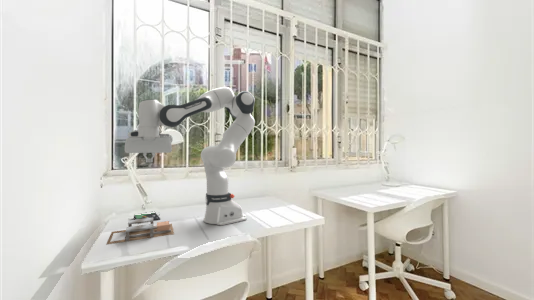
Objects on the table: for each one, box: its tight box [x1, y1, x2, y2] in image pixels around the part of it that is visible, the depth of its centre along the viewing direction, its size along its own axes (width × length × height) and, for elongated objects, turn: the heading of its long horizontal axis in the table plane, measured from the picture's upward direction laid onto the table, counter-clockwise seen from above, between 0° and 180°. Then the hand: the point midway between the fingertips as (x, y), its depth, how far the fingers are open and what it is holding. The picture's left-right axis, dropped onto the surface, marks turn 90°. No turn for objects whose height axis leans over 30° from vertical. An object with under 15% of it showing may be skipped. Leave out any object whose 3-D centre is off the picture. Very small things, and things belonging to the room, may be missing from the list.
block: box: [156, 220, 171, 231], centre depth 106 cm, size 5×5×3 cm
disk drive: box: [133, 212, 161, 225], centre depth 123 cm, size 10×3×15 cm
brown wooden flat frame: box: [105, 218, 175, 246], centre depth 102 cm, size 24×14×6 cm, turn 116°
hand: (149, 162), depth 113 cm, fingers closed
